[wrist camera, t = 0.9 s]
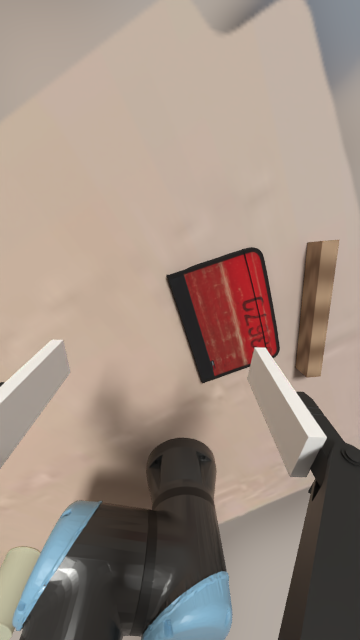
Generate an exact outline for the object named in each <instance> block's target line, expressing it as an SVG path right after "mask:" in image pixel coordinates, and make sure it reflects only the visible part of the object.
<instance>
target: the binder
mask: <svg viewBox="0 0 360 640" xmlns="http://www.w3.org/2000/svg"><path fill="white" fill-rule="evenodd" d="M167 278H168V280H169V284H170V287H171V289H172V292H173V296H174V299H175V301H176V304H177V307H178V310H179V314H180V316H181V319H182V322H183V325H184V328H185V331H186V334H187V337H188V340H189V343H190V346H191V349H192V352H193V355H194V359H195V362H196V365H197V368H198V371H199V374H200V377H201V381H202V383H205V382H207V381H210V380H213V379H216V378H219V377H221V376H224V375H227V374H230V373H233V372H235V371H238V370H241V369H244V368H247V367H250V365H251V360H252V356H253V352H254V348H255V347H260V348H266V349H267V351H268V352H269V354H270V355H271V356H272V358H274V357H276V356H277V354H278V353H279V350H280V347H279V340H278V332H277V326H276V320H275V314H274V309H273V303H272V298H271V292H270V286H269V281H268V276H267V271H266V266H265V261H264V257H263V254H262V252H261V251H260V250H259V249H257V248H252V247H251V248H246V249H242V250H240V251H236V252H233V253H230V254H227V255H224V256H221V257H218V258H215V259H212V260H209V261H206V262H203V263H200V264H197V265H194V266H192V267H189V268H187V269H185V270H182V271H179V272H177V273H173V274H170V275H167Z"/></svg>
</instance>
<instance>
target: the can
mask: <svg viewBox="0 0 360 640" xmlns="http://www.w3.org/2000/svg"><path fill="white" fill-rule="evenodd" d="M40 553H41V552H39V551H38V550H36V549H34V548H30V547H16V548H13V549H11V550H10V551H9V552H8V553H7V555H6V558H5V560H4V562H3V563H2V565H1V567H0V640H9V639H10V638H11V637H12V634H13V631H14V629H15V627H14V626H13V625H12V620H13V616H14V612H15V610H16V608H17V606H18V603H19V601H20V599H21V595H22V592H23V590H24V588H25V585H26V583H27V581H28V579H29V576H30V574H31V572H32V570H33V568H34V566H35V564H36V562H37V559H38V557H39V555H40Z"/></svg>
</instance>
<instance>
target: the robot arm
mask: <svg viewBox="0 0 360 640" xmlns="http://www.w3.org/2000/svg"><path fill="white" fill-rule="evenodd" d="M69 374H70V368H69V363H68V359H67V354H66V350H65V346H64V341H63V340H51V341H50V342H49V343H48V344H47V345H45V346H44V347H43V348H42V349H41V350H40V351H39V352H38V353H37V354H36V355H35V356H33V357H32V358H31V359H30V360H29V361H28V362H27V363H26V364H25V365H24V366H23V367H21V368H20V369H19V370H18V371H17V372H16V373H15V374H14V375H13V376H12V377H11V378H9V379H8V380H7V381H6V382H1V383H0V469H1V467H2V466H3V464H4V463H5V462H6V460H7V459H8V458H9V456H10V455H11V453H12V452H13V451H14V449H15V448H16V447H17V445H18V444H19V442H20V441H21V440H22V438H23V437H24V436H25V434H26V433H27V431H28V430H29V429H30V427H31V426H32V425H33V423H34V422H35V420H36V419H37V418H38V416H39V415H40V414H41V412H42V411H43V409H44V408H45V407H46V405H47V404H48V403H49V401H50V400H51V398H52V397H53V396H54V394H55V393H56V392H57V390H58V389H59V387H60V386H61V385H62V383H63V382H64V381H65V379H66V378H67V376H68V375H69ZM247 379H248V381H249V384H250V386H251V388H252V391H253V393H254V395H255V397H256V400H257V402H258V404H259V407H260V409H261V411H262V414H263V416H264V418H265V421H266V423H267V425H268V427H269V430H270V432H271V434H272V437H273V439H274V441H275V444H276V446H277V448H278V450H279V453H280V455H281V457H282V460H283V462H284V464H285V467H286V469H287V471H288V474H289V476H290V477H307V475H308V473H309V471H310V469H311V471H312V473H313V475H314V477H315V480H314V482H313V484H312V486H311V487H310V489H309V493H310V494H311V495H310V500H309V504H308V508H307V513H306V517H305V521H304V526H303V530H302V535H301V539H300V544H299V549H298V553H297V557H296V562H295V566H294V571H293V575H292V579H291V584H290V588H289V593H288V597H287V602H286V606H285V611H284V615H283V620H282V624H281V628H280V633H279V638H278V640H360V450H359V449H357V448H356V447H354V446H352V445H350V444H347V443H345V442H344V441H343V439H342V438H341V437H340V435H339V434H338V433H337V431H336V430H335V429H334V427H333V426H332V425H331V423H330V422H329V421H328V419H327V418H326V417H325V416H324V414H323V413H322V411H321V410H320V409H319V407H318V406H317V405H316V403H315V402H314V401H313V399H312V398H310V397H309V396H308V395H307V394H305V393H304V392H296V391H295V390H294V389H293V387H292V386H291V384H290V383H289V381H288V380H287V378H286V377H285V375H284V374H283V373H282V371H281V370H280V368H279V367H278V365H277V364H276V362H275V361H274V359H273V358H272V356H271V355H270V354H269V352H268V351H267V349H266V348H260V347H255V348H254V352H253V356H252V360H251V365H250V369H249V373H248V377H247ZM146 473H147V481H148V486H149V491H150V496H151V500H152V510H147V509H141V508H134V507H128V506H121V505H114V504H108V503H102V501H98V502H93V501H76V502H74V503H72V504H71V505H69V506H68V507H67V509H66V510H65V511H64V512H63V514H62V515H61V517H60V518H59V520H58V522H57V523H56V525H55V527H54V529H53V530H52V532H51V534H50V536H49V538H48V540H47V542H46V544H45V546H44V547H43V549H42V551H41V553H40V555H39V557H38V559H37V562H36V564H35V566H34V568H33V570H32V572H31V574H30V576H29V579H28V581H27V583H26V585H25V588H24V590H23V592H22V595H21V599H20V601H19V603H18V606H17V608H16V610H15V612H14V616H13V620H12V625H13V626H14V627H15V628H16V631H20V630H21V629H23V631H22V634H21V637H20V640H122V638H123V636H128V635H130V636H141V640H224V639H225V638H226V636H227V635H228V633H229V630H230V628H231V623H232V606H231V598H230V591H229V584H228V583H229V582H228V581H229V576H228V573H227V571H226V566H225V560H224V555H223V549H222V543H221V538H220V532H219V527H218V521H217V516H216V511H215V505H214V491H215V481H216V464H215V460H214V456H213V453H212V452H211V450H210V449H209V448H208V447H207V446H206V445H205V444H203V443H201V442H199V441H197V440H193V439H188V438H178V439H172V440H169V441H166V442H164V443H162V444H160V445H159V446H157V447H156V448H155V449H154V450H153V451H152V453H151V454H150V456H149V458H148V463H147V472H146Z"/></svg>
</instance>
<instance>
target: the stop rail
mask: <svg viewBox="0 0 360 640" xmlns="http://www.w3.org/2000/svg"><path fill="white" fill-rule="evenodd" d="M338 246H339V240H330V241H319V242H308V243H307V253H306V263H305V274H304V284H303V295H302V305H301V316H300V326H299V336H298V347H297V357H296V368H297V369H298V370H299V371H300V372H301V373H302V374H303V375H304V376H306V377H317V376H321V369H322V361H323V354H324V347H325V340H326V333H327V325H328V318H329V311H330V304H331V296H332V289H333V282H334V275H335V268H336V260H337V253H338Z"/></svg>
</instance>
